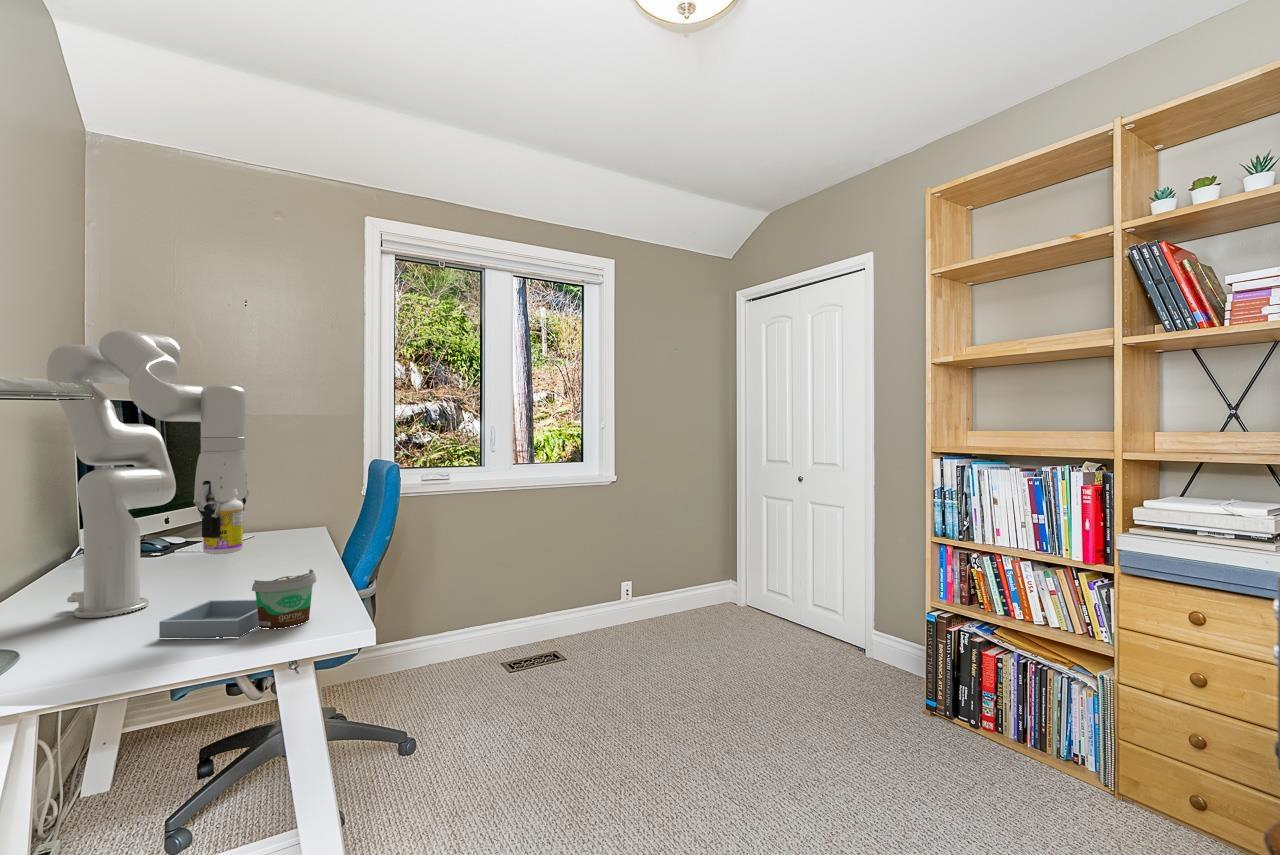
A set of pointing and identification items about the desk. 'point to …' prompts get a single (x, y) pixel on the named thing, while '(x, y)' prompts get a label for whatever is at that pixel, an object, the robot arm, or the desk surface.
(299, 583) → the food container
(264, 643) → the desk surface
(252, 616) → the tray
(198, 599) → the desk surface
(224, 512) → the supplement bottle
